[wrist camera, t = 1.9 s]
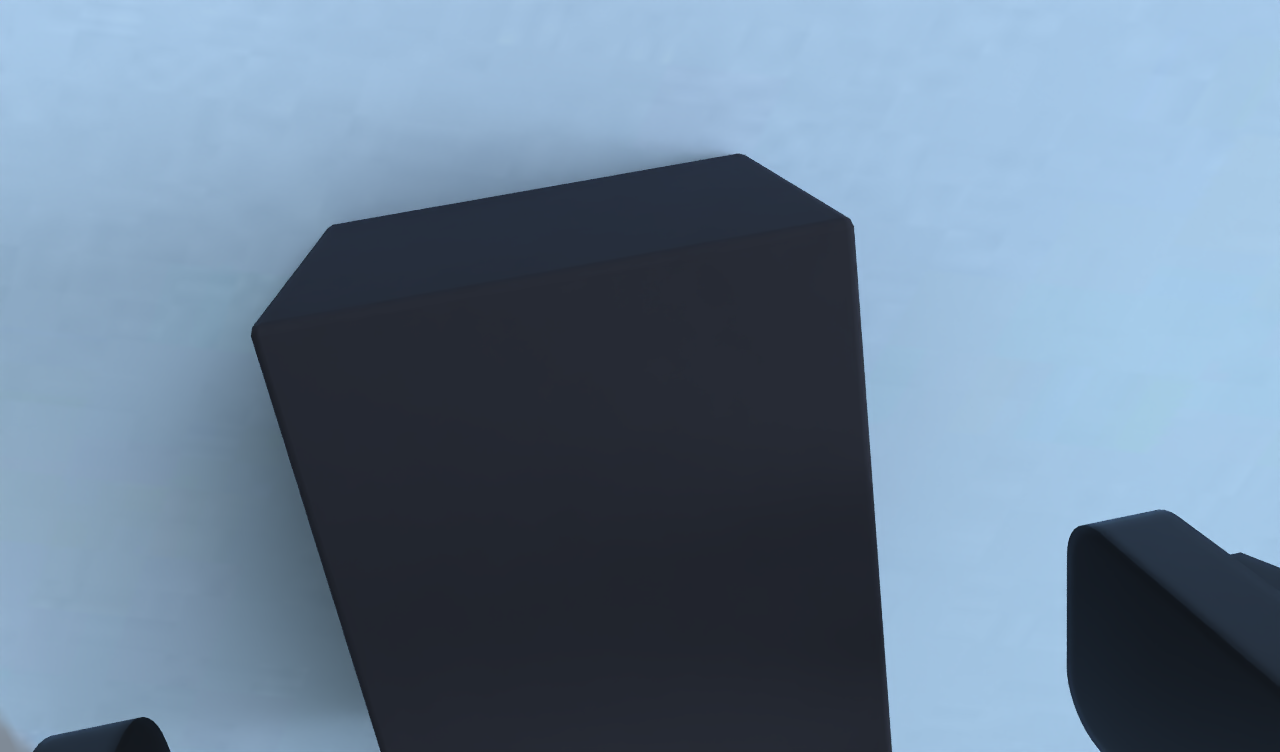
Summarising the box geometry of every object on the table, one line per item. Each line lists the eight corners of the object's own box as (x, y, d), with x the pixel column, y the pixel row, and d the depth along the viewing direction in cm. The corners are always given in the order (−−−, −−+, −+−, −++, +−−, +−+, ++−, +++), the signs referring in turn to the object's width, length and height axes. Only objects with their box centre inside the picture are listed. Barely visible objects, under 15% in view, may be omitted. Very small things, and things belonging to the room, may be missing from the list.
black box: (325, 224, 12) (244, 328, 8) (745, 151, 12) (857, 216, 8) (456, 706, 14) (441, 956, 10) (798, 633, 14) (902, 850, 11)
